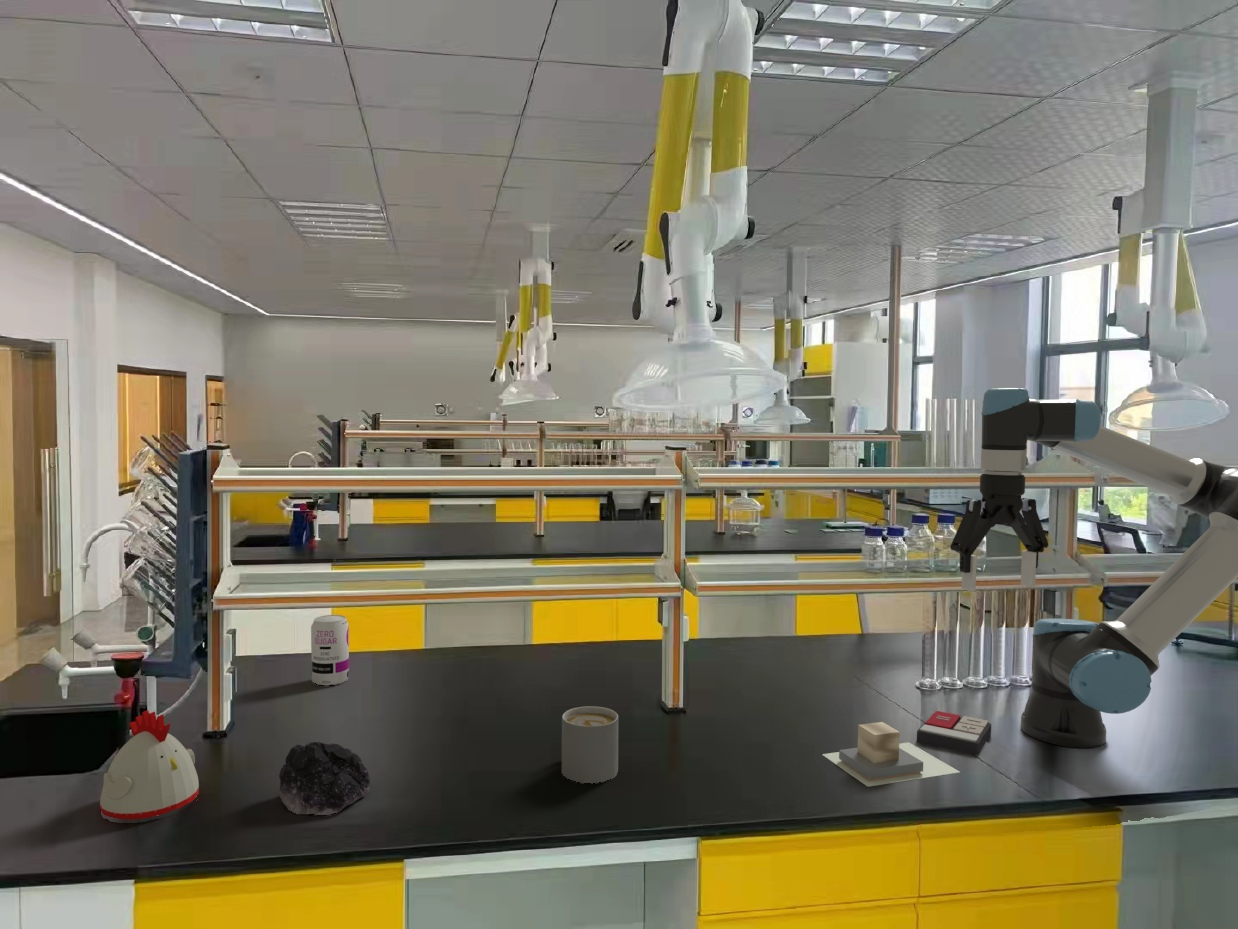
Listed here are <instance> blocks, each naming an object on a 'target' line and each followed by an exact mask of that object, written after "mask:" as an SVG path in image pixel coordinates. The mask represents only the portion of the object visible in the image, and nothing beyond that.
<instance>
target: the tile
mask: <svg viewBox="0 0 1238 929" xmlns="http://www.w3.org/2000/svg"><path fill="white" fill-rule="evenodd" d="M838 752H839V759H840V760H841V761H842V762H843V763H844V764H846V765H847V766H849V767H850V768H852V769H853V770H855V771H856V772H858V773H859V774H860V775H862V776H863V777H865V778H866V779H868V780H869V781H871V780H878V779H884V778H891V777H897V776H904V775H911V774H917V773H920V772H921V771H923V762H922V761H921V760H919V759H917V758H915V757H914V756H912V755H910V754H909V753H907V752H905V751H904V750H902V749H900V748H899V760H895V761H888V762H881V763H873V762H871V761H870V760H868V759H867V758H865V757H864V756H862V755H861V754H859V753H858V747H852V748H851V747H850V748H846V749H845V748H844V749H839V751H838Z"/></svg>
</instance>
